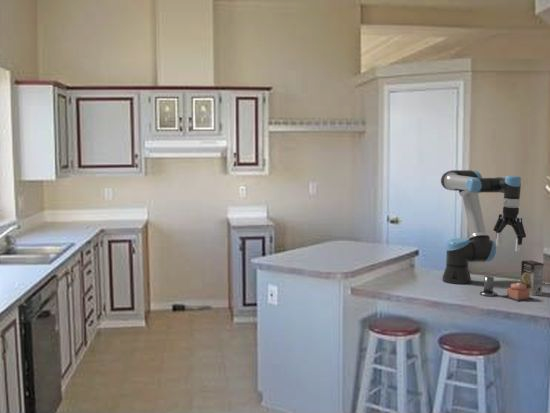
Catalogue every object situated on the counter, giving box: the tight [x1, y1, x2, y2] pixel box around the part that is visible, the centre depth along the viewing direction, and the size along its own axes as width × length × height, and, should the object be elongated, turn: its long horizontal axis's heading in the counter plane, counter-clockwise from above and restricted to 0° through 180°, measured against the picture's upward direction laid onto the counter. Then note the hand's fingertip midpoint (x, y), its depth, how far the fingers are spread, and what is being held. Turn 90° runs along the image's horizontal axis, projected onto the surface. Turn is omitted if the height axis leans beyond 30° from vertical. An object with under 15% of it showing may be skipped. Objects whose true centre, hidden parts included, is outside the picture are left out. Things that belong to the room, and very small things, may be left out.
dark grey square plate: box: [502, 294, 535, 302], centre depth 316 cm, size 10×10×1 cm
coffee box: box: [520, 260, 544, 296], centre depth 326 cm, size 9×6×16 cm
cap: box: [506, 282, 530, 299], centre depth 316 cm, size 7×7×7 cm
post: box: [479, 275, 498, 298], centre depth 322 cm, size 8×8×9 cm
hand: (508, 248), depth 325 cm, fingers open, 13 cm apart
